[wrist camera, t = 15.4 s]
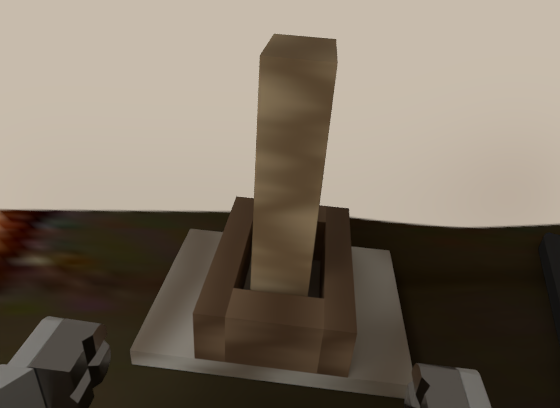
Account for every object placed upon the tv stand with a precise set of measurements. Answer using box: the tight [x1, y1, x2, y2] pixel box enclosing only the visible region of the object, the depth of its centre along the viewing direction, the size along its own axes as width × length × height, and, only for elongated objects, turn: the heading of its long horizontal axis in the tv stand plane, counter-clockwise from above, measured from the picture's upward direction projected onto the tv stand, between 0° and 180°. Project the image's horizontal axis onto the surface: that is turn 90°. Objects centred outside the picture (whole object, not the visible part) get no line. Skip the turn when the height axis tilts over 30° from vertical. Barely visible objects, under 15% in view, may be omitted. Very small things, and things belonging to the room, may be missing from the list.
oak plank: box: [250, 34, 337, 297], centre depth 23 cm, size 3×5×14 cm, turn 175°
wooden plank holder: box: [130, 197, 413, 399], centre depth 26 cm, size 14×11×4 cm
